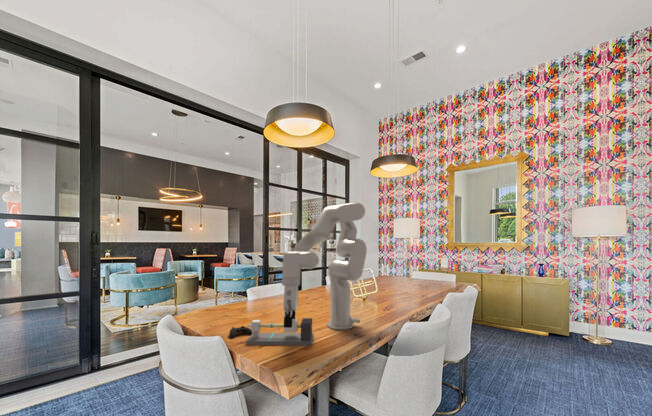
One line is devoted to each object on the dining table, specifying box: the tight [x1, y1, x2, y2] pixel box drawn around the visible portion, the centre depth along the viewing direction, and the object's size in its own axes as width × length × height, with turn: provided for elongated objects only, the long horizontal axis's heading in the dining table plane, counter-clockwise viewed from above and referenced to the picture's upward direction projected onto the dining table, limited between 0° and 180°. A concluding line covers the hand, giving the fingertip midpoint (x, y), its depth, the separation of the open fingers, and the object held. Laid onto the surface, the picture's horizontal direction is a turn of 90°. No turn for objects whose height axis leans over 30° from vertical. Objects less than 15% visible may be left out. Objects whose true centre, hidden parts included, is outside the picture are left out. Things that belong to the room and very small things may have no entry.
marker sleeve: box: [283, 318, 299, 333], centre depth 119 cm, size 5×4×4 cm
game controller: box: [229, 325, 253, 339], centre depth 126 cm, size 10×5×6 cm
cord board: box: [245, 317, 314, 346], centre depth 119 cm, size 27×10×8 cm, turn 89°
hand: (289, 324), depth 119 cm, fingers open, 9 cm apart
